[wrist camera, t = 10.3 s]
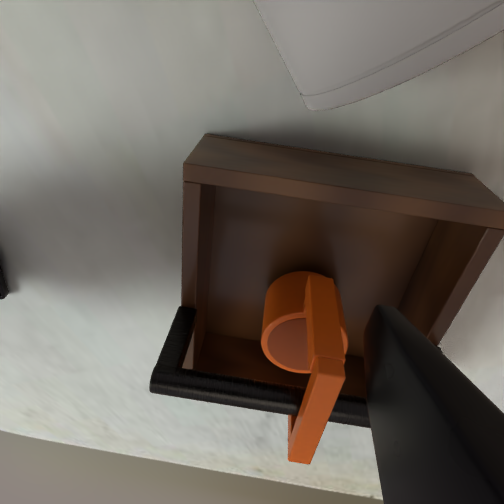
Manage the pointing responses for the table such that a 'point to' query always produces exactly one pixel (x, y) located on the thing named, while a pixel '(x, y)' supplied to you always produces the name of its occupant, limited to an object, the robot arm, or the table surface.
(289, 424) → the measuring cup
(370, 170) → the basket
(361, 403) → the basket handle
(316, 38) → the bent grey cylinder
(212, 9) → the table surface
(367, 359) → the robot arm
